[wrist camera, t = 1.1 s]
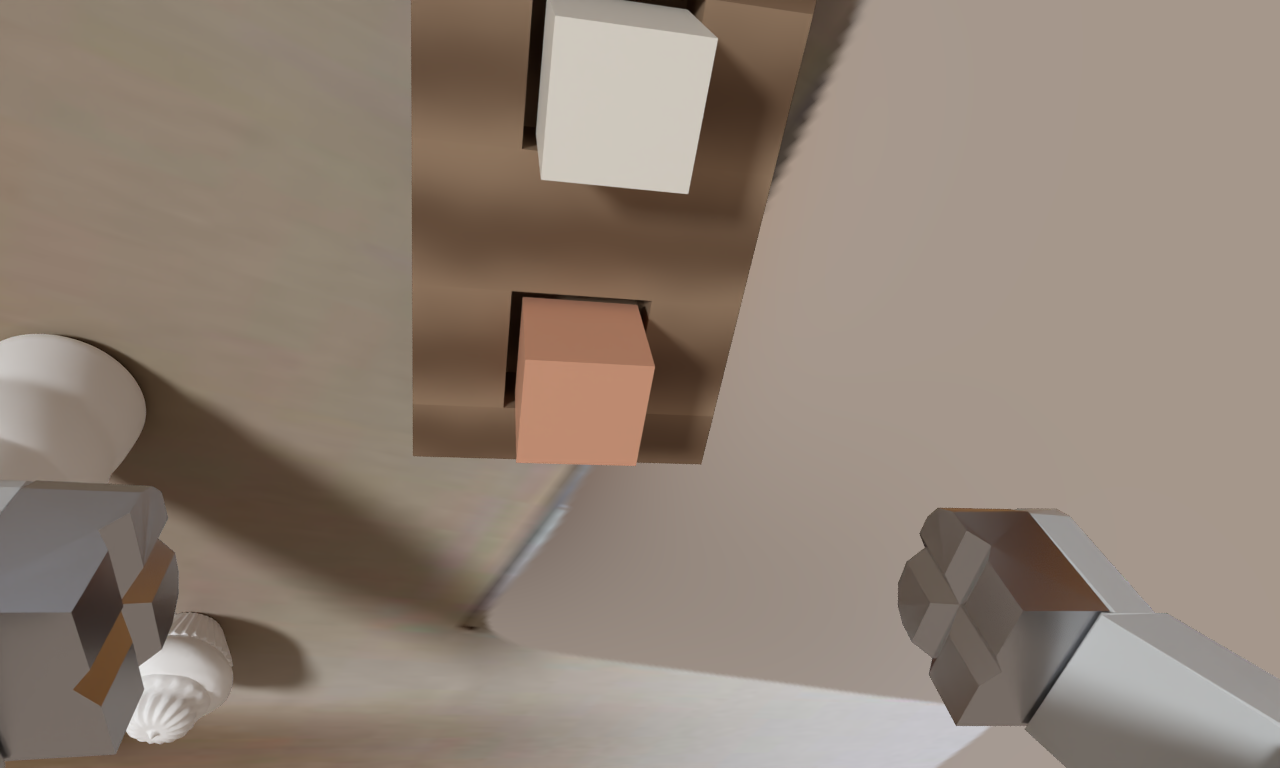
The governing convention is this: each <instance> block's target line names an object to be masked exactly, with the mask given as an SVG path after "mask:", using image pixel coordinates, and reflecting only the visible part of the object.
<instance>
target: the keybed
mask: <svg viewBox="0 0 1280 768" xmlns="http://www.w3.org/2000/svg"><path fill="white" fill-rule="evenodd" d="M546 1H547V0H411V85H412V329H413V456H426V457H461V458H496V459H516V421H515V386H516V373H517V361H518V349H519V336H520V324H521V311H522V299H523V297H532V298H546V299H561V300H575V301H590V302H604V303H619V304H633V305H638V309H639V312H640V316H641V319H642V323H643V326H644V330H645V333H646V337H647V340H648V344H649V347H650V351H651V354H652V358H653V361H654V365H655V369H654V375H653V380H652V385H651V390H650V395H649V401H648V406H647V411H646V416H645V421H644V427H643V432H642V437H641V442H640V447H639V453H638V458H637V462H638V463H640V462H641V463H673V464H674V463H675V464H701V463H702V459H703V455H704V451H705V447H706V443H707V439H708V434H709V431H710V427H711V423H712V419H713V415H714V411H715V407H716V402H717V399H718V394H719V391H720V386H721V383H722V379H723V374H724V370H725V367H726V362H727V358H728V354H729V350H730V346H731V342H732V338H733V334H734V330H735V326H736V322H737V318H738V314H739V310H740V306H741V302H742V298H743V294H744V290H745V286H746V282H747V278H748V274H749V270H750V266H751V262H752V258H753V254H754V250H755V246H756V242H757V238H758V234H759V230H760V226H761V222H762V218H763V214H764V210H765V206H766V202H767V198H768V194H769V190H770V186H771V182H772V178H773V174H774V170H775V166H776V162H777V158H778V154H779V150H780V146H781V142H782V138H783V134H784V130H785V126H786V122H787V118H788V114H789V110H790V106H791V102H792V98H793V94H794V90H795V86H796V82H797V78H798V74H799V70H800V66H801V62H802V58H803V54H804V50H805V46H806V42H807V37H808V33H809V29H810V25H811V21H812V17H813V13H814V9H815V5H816V1H817V0H626V1H633V2H640V3H647V4H653V5H660V6H667V7H674V8H681V9H687V10H689V11H690V12H691V13H692V14H693V15H694V16H695V17H696V18H697V19H698V20H699V21H700V22H701V23H702V24H703V25H704V26H705V27H707V28H708V29H709V30H710V31H711V32H712V33H713V34H714V35H715V36H716V37H717V38H718V42H717V47H716V52H715V57H714V62H713V68H712V73H711V78H710V83H709V88H708V94H707V99H706V104H705V109H704V114H703V120H702V125H701V130H700V135H699V140H698V146H697V151H696V156H695V161H694V166H693V172H692V177H691V182H690V187H689V193H688V194H681V193H671V192H661V191H651V190H640V189H630V188H620V187H610V186H600V185H590V184H579V183H569V182H559V181H549V180H541V176H540V167H539V158H538V149H537V140H536V125H537V112H538V100H539V88H540V75H541V63H542V50H543V38H544V25H545V13H546Z"/></svg>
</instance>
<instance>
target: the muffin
mask: <svg viewBox="0 0 1280 768" xmlns="http://www.w3.org/2000/svg"><path fill="white" fill-rule="evenodd" d="M231 667H233V663H232V657H231V654H230V651H229V648H228V645H227V642H226V639H225V636H224V633H223V630H222V628H221V627H220V624H219V623H217V621H216V620H213V618H210V617H208V616H205V615H203V614H198V613H191V612H189V613H186V612H184V613H179V614H175V615H174V618H173V623H172V626H171V628H170V631H169V633H168V636H167V638H166V641H165V643H164V645H163V648H162V650H160V651H159V652H158V653H156V654H155V655H154V656H152V657H151V658H150V659H148V660H147V661H146V662H144V663H143V664H141V665H140V666H139V670H140V674H141V678H142V682H143V686H144V691H143V694H142V696H141V698H140V700H139V703H138V705H137V707H136V709H135V712H134V714H133V716H132V718H131V721H130V723H129V725H128V727H127V729H126V732H127V733H128V735H129V736H130V737H132V738H135V739H137V740H138V741H140V742H145V741H146V742H148V743H149V744H152V743H158V744H162V743H164V742H173V741H175V740H176V739H178V738H181V737H183V736H184V735H186V734H187V731H188V730H190V729H191V728H193V726H194V723H195V722H196V721H197V720H198V719H199V718H201V717H203V716H205V715H207V714H209V713H210V712H212V711H214V710H215V709H217V708H218V707H219V706H221V705H222V704H223V703H224V702H225V701H226V699H227V698H228V696H229V694H230V692H231V689H232V685H233V671H232V668H231Z"/></svg>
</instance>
